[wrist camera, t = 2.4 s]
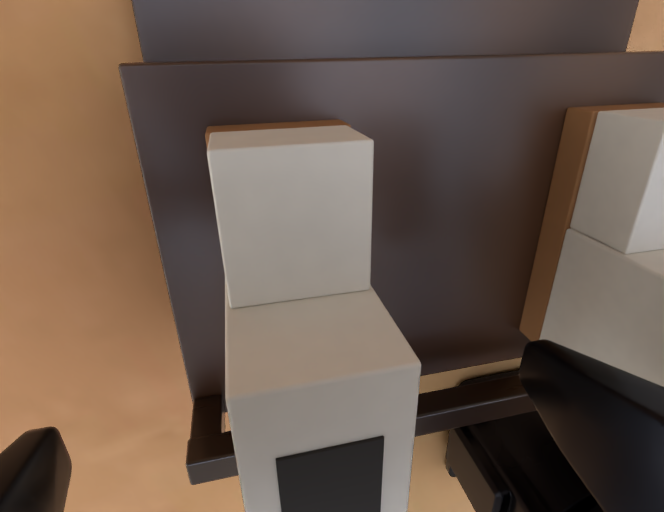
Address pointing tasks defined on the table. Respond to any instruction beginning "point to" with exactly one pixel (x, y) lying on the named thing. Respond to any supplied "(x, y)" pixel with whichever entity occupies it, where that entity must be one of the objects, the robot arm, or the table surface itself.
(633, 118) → the white l-shaped block
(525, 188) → the shoe rack
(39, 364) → the table surface
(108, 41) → the table surface
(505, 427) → the robot arm
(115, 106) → the table surface
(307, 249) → the white stacked box shape
